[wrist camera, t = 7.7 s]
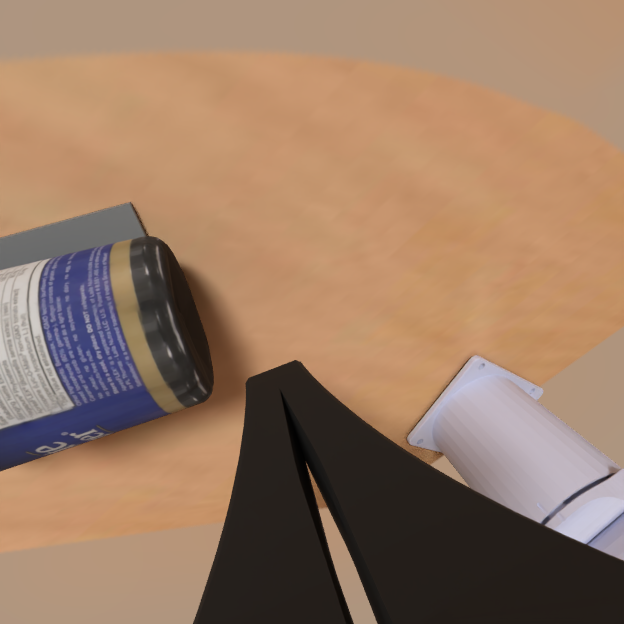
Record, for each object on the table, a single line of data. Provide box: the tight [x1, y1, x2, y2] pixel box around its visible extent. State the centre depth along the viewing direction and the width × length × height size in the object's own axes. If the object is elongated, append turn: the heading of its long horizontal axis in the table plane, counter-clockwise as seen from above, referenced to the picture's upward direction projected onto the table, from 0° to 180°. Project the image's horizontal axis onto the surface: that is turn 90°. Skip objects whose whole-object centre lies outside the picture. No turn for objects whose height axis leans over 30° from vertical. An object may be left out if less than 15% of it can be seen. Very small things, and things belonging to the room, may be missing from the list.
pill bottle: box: [0, 236, 214, 471], centre depth 12 cm, size 6×6×11 cm
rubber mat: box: [0, 202, 147, 270], centre depth 14 cm, size 11×8×1 cm
